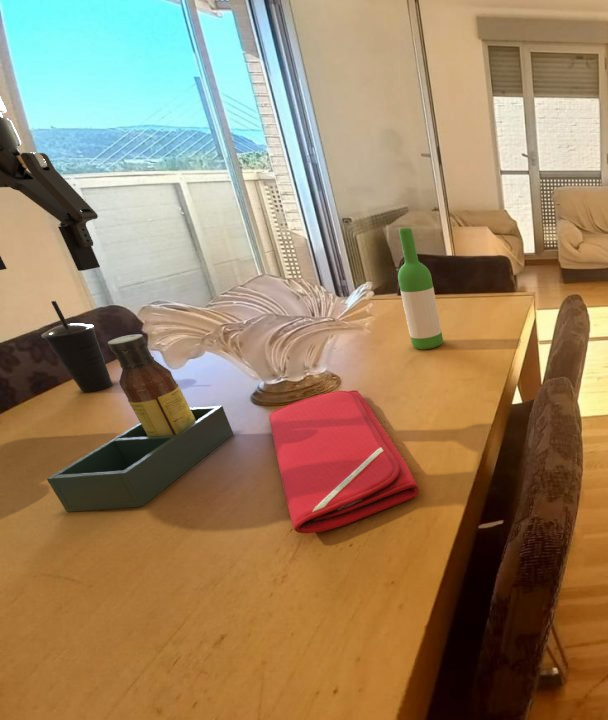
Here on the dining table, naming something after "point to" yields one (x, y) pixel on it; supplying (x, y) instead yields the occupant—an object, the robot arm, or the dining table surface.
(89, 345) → the drinking cup
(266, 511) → the dining table surface
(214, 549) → the dining table surface
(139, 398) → the sauce bottle
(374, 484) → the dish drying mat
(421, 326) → the wine bottle
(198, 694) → the dining table surface
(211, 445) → the dark green divided tray
